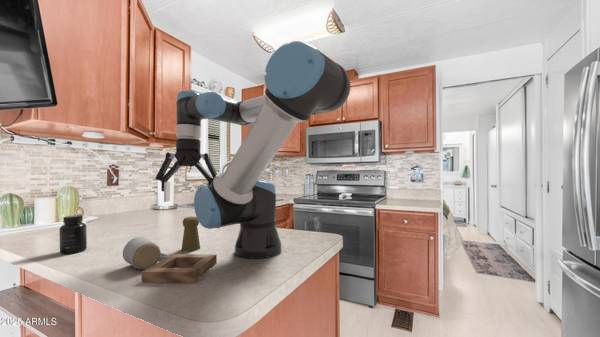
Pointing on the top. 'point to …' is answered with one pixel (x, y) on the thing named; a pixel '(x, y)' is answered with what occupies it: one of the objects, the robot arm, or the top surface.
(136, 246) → the ceramic mug
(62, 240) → the supplement bottle
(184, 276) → the socket block
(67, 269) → the top surface
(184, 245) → the olive rounded upright piece
